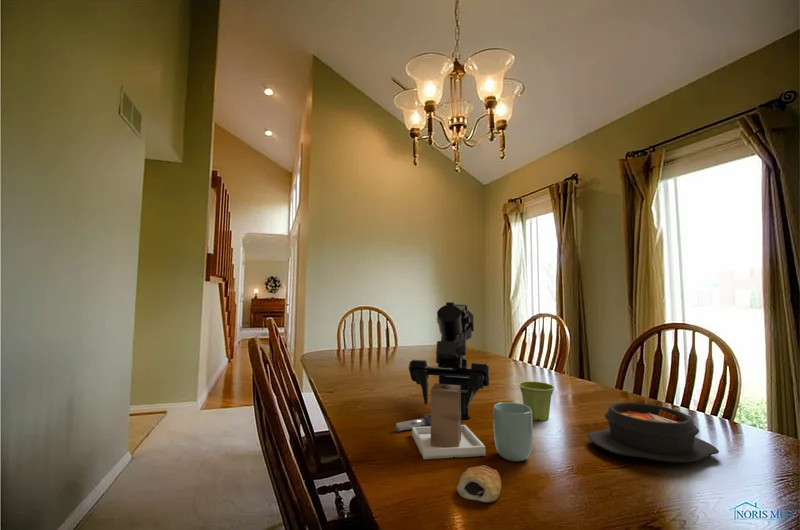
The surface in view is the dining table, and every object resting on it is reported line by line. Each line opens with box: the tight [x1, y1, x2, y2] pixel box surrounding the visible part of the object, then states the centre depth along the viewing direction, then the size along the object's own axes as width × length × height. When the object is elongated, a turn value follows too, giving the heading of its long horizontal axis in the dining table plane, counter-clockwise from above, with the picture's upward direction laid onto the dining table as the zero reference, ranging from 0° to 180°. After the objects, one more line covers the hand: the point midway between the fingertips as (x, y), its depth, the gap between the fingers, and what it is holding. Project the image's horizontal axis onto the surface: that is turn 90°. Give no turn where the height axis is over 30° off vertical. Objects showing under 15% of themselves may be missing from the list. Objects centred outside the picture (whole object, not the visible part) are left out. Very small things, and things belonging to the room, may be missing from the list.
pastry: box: [456, 465, 502, 503], centre depth 63 cm, size 9×7×4 cm
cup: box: [492, 401, 533, 462], centre depth 76 cm, size 8×8×10 cm
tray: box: [411, 424, 487, 460], centre depth 82 cm, size 13×13×2 cm
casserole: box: [587, 402, 720, 463], centre depth 80 cm, size 25×19×8 cm
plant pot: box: [518, 380, 555, 422], centre depth 101 cm, size 9×9×9 cm
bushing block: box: [430, 383, 462, 448], centre depth 82 cm, size 6×6×12 cm
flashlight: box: [395, 413, 431, 433], centre depth 92 cm, size 11×3×3 cm, turn 119°
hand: (445, 405), depth 82 cm, fingers open, 9 cm apart
